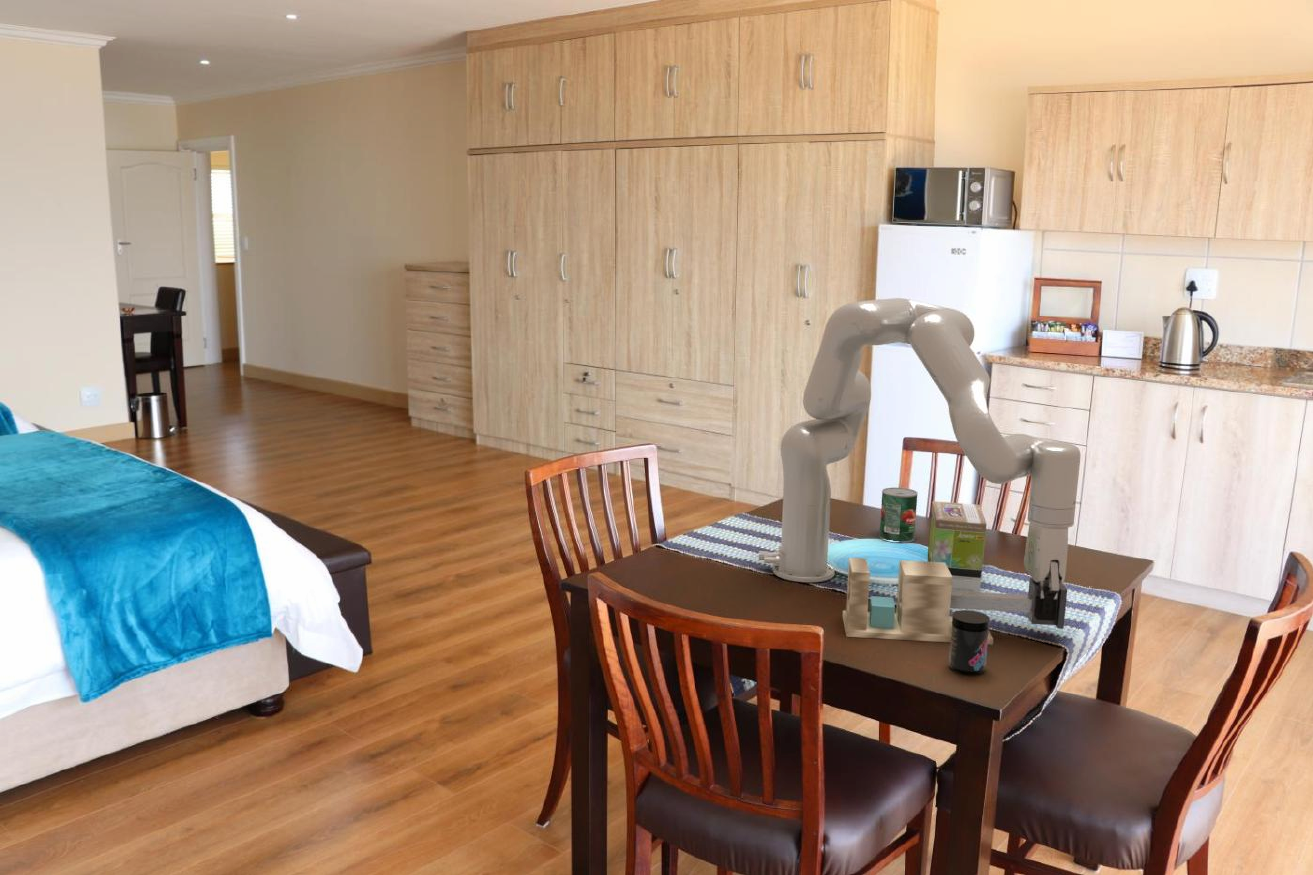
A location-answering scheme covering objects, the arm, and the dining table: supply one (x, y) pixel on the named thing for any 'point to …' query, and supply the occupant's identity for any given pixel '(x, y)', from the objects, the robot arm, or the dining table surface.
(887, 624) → the spacer
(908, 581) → the wooden slotted block
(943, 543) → the tea box
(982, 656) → the supplement container
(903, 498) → the canned tomato
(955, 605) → the shaft
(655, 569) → the dining table surface
